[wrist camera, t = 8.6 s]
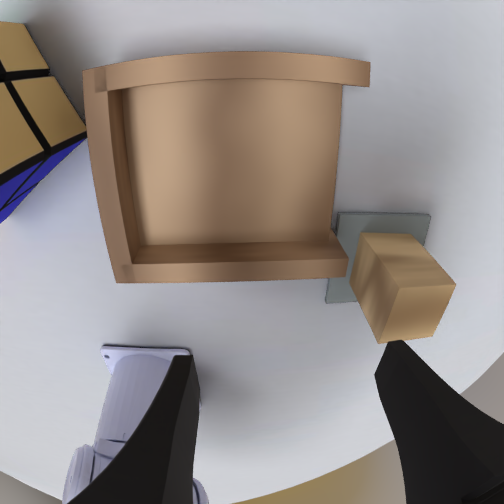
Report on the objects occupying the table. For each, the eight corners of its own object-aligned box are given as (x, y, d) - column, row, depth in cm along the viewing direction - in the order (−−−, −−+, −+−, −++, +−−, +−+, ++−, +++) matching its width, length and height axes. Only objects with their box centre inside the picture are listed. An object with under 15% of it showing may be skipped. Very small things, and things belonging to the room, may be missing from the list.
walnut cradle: (341, 64, 15) (370, 62, 11) (327, 242, 20) (345, 277, 17) (113, 71, 14) (82, 70, 11) (134, 247, 20) (116, 283, 16)
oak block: (396, 281, 22) (432, 336, 17) (348, 282, 22) (378, 343, 16) (410, 233, 20) (456, 284, 15) (360, 232, 20) (399, 288, 14)
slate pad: (405, 293, 23) (407, 296, 23) (325, 300, 23) (326, 303, 22) (428, 214, 20) (430, 216, 19) (338, 212, 19) (340, 215, 19)
